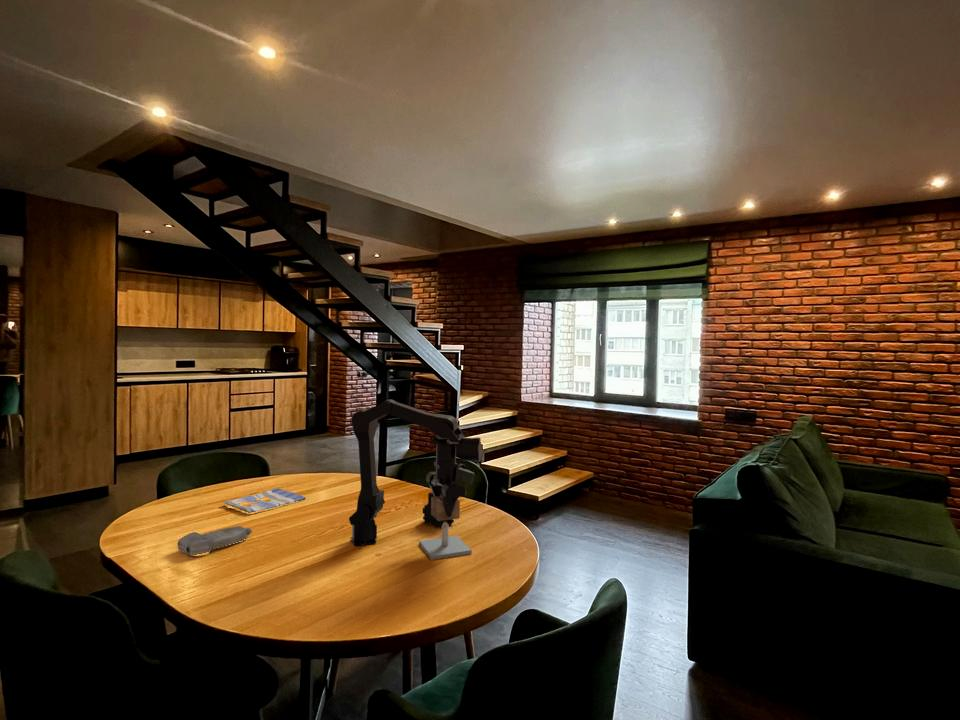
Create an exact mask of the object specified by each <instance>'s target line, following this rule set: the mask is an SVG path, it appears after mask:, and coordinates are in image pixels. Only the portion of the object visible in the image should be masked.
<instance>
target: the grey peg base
mask: <svg viewBox="0 0 960 720" xmlns="http://www.w3.org/2000/svg"><path fill="white" fill-rule="evenodd" d="M449 526H450V524H447V522H442V526H441V537H438V538H437V537H436V538H430V539H423V540H419V542H418V544H419V546H420V547H421V549H422V550H423V551H424V552H425V554H426V555H427V556H428V557H429V559H430V560H431V561H434V560H440V559H444V558H445V559H446V558H451V557H458V556H459V557H460V556H465V555H472V554H473V553H472V552H473V551H472V548H470V547H469V546H468V545H467V544H466V543H465V542H464V541H463V540H462V538H460V537H459V536H458V535H452V536H449V533H450V531H449V528H450V527H449Z"/></svg>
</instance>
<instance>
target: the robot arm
mask: <svg viewBox="0 0 960 720" xmlns="http://www.w3.org/2000/svg"><path fill="white" fill-rule="evenodd" d="M387 415H389V416H393V417H395V418H398V419H400V420H401V419H402V420H405V421H407V422H410V423H412V424H416V425H419V426H422V427H424V428H425V429H427V430H428V431H429V432H431V433H432V434H434V436H433V438H432V439H431V440H430V441H429V444H430V445H436V447H435V448H436V449H435V450H436V451H435V455H436V457H435V461H434V462H433V466H434V467H435V471H429V472H428V473H426V478H425V479H426V482H427V483H428V486H429V488H430V489H431V492H433V495H434V497H438V496H441V499H442V502H443V505H444V508H445V511H446V514H447V517H450V516H451V515H452V512H453V509H454V505H455V503H456V500H457V499H458V500H459V498H461V497H466V496H467V487H466V486H465V485H463V483H461V482H460V481H462V482H466V483H468V484H470V485H471V484H473V481H474V477H475V475H476V474H475V472H473V471H471V470H469V469H467V466H466V465H465V464H462V463H459V464H458V463H457V458H458V459H460V461H463V462H476V463H477V462H478V463H479V462H481V461H482V458H483V457H482V456H483V446H482V442H481V441H482V440H481V437H478V436H477V437H465V435H464V433H463V431H462V430H461V429H460V427H459V423H458V420H457V419H456V417H454V416H453V415H450V414H442V413H431V412H428V411H426V410H425V411H424V410H421V409H418V408H415V407H413V406H409V405H407V404H404V403H402V402H401V403H400V402H397V401H395V400H394V399H386V400H383V401H381V403H379V404H376V405H375V406H373V407H371V408H365V409H362V410H358V411H356V412H354V413H353V415H352V416H351V425H352V426H351V427H352V431H353V434H354V435H355V437H356V439H357V442H358V458H359V474H360V491H359V494H358V496H357V506H356V511H355V512H354V513H353V514H351V516H350V517H348V520H349V524H350V526H352V529H351V535H352V536H351V537H350V539H351V542H352V544H353V546H354V547H357V546H365V545H372V544H376V543H377V538H378V536H377V533H378V530H377V529H378V526H377V524H376V519H375V518H376V517H377V516H378V514H379V513H380V512H381V511H382V510H383V508H384V505H385V504H386V501H385V490H384V489H382V490H380V489H379V487H378V484H377V470H376V469H377V465H376V453H375V452H376V451H375V437H376V432H377V431H378V430H377V429H378V422H379V421H378V420H380V419H382V418H385V417H386V416H387Z"/></svg>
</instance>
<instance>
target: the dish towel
mask: <svg viewBox="0 0 960 720" xmlns="http://www.w3.org/2000/svg"><path fill="white" fill-rule="evenodd" d="M263 497H267V498H268V499H270V500H271V501H269V502H265V501H263V500H256V499H261V498H263ZM301 500H303V501H305V500H306V496H303V495H301V494H298V493H296V492H292V491H287V490H284V489H282V488H277V487H276V488H273V489H270V490H269V489H268V490H266V491H262V492H259V493H257V494H251V495H246V496H243V497H239V498H236V499H232V500H231V499H230V500H229V499H226V500H225V501H223V503H225V504H227V505H230V506H232V507H235V508H238V509H240V510H243V511H245V512H248V513H251V512H256V511H260V510H265V509H269V508H273V507H277V506H280V505H285V504H289V503H292V502H296V501H300V502H302V501H301ZM257 501H258V503H254V504H250V505H251V507H247V506H242V505H241V504H238V503H242V502H247V503H248V504H249V503H252V502H257ZM259 501H261V502H259Z"/></svg>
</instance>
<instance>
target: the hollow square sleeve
mask: <svg viewBox="0 0 960 720" xmlns="http://www.w3.org/2000/svg"><path fill="white" fill-rule="evenodd" d="M460 508H461V502H460V500H459V498H458V499H457V500H456V503H455V505H454V509H453V512H452V515H451V516H450V517H447V514H446V511H445V508H444V505H443V502H442V499H441V496H438V497H431V514H432V515H433V516H434V517H435V518H436V519H437V520H438V521H443V520H451V519H453V520H457V519H460V515H461V513H460V512H461V511H460V510H461V509H460Z"/></svg>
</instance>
